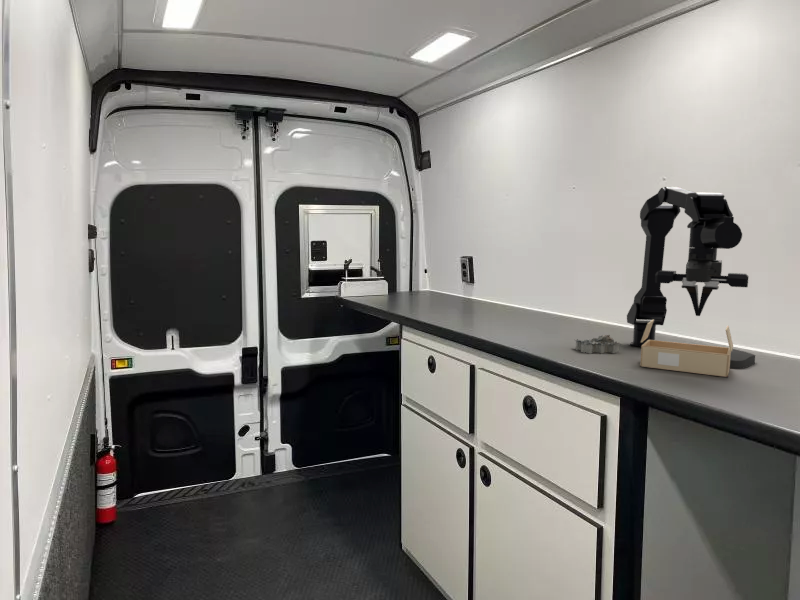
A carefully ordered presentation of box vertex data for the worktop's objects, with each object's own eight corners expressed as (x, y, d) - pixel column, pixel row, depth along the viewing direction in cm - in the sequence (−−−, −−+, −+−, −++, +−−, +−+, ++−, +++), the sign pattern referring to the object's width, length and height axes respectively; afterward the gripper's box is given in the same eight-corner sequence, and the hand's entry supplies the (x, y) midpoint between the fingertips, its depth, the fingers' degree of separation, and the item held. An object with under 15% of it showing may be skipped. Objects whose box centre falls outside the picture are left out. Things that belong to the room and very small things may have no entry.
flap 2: (731, 345, 133) (727, 325, 133) (733, 345, 133) (728, 325, 133) (730, 351, 126) (725, 330, 126) (731, 351, 126) (727, 330, 126)
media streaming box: (758, 363, 143) (759, 351, 143) (741, 371, 133) (742, 359, 133) (696, 354, 154) (697, 343, 153) (675, 361, 143) (676, 349, 143)
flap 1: (641, 342, 135) (648, 323, 134) (640, 342, 135) (647, 323, 134) (647, 337, 142) (654, 319, 141) (646, 337, 142) (652, 319, 141)
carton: (647, 358, 144) (648, 339, 144) (729, 368, 135) (731, 347, 134) (639, 367, 135) (641, 346, 134) (727, 377, 125) (729, 355, 125)
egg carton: (610, 349, 158) (611, 334, 158) (622, 354, 151) (623, 339, 150) (572, 348, 158) (573, 333, 157) (582, 354, 150) (583, 338, 150)
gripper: (653, 247, 129) (649, 316, 130) (750, 249, 119) (744, 323, 121) (660, 247, 138) (656, 311, 140) (750, 249, 128) (745, 317, 130)
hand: (697, 315), depth 132 cm, fingers closed
